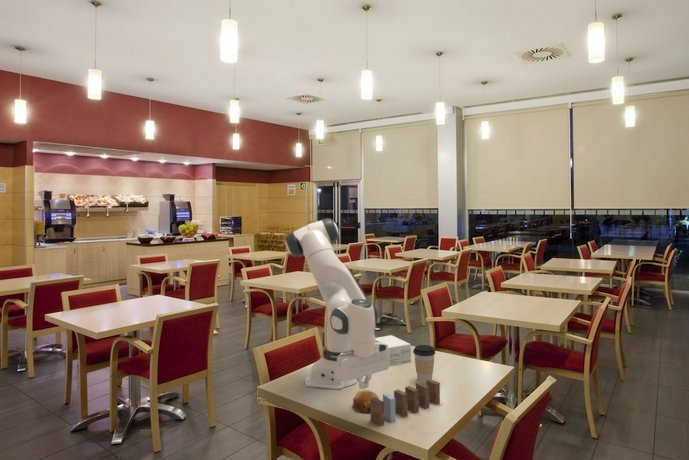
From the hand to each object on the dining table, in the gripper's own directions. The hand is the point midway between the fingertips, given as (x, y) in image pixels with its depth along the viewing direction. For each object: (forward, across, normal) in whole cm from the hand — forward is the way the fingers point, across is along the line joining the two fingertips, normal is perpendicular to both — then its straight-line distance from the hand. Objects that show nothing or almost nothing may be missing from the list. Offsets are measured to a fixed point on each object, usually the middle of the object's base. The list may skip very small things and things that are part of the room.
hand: (363, 387), depth 153 cm
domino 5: (+14, +27, +1) cm, 31 cm away
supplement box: (+14, +51, +48) cm, 71 cm away
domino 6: (+14, +33, +1) cm, 36 cm away
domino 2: (+14, +11, 0) cm, 17 cm away
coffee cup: (+14, +44, +17) cm, 49 cm away
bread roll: (+14, +9, +12) cm, 21 cm away
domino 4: (+14, +22, 0) cm, 26 cm away
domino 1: (+14, +5, 0) cm, 15 cm away
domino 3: (+14, +16, 0) cm, 21 cm away
